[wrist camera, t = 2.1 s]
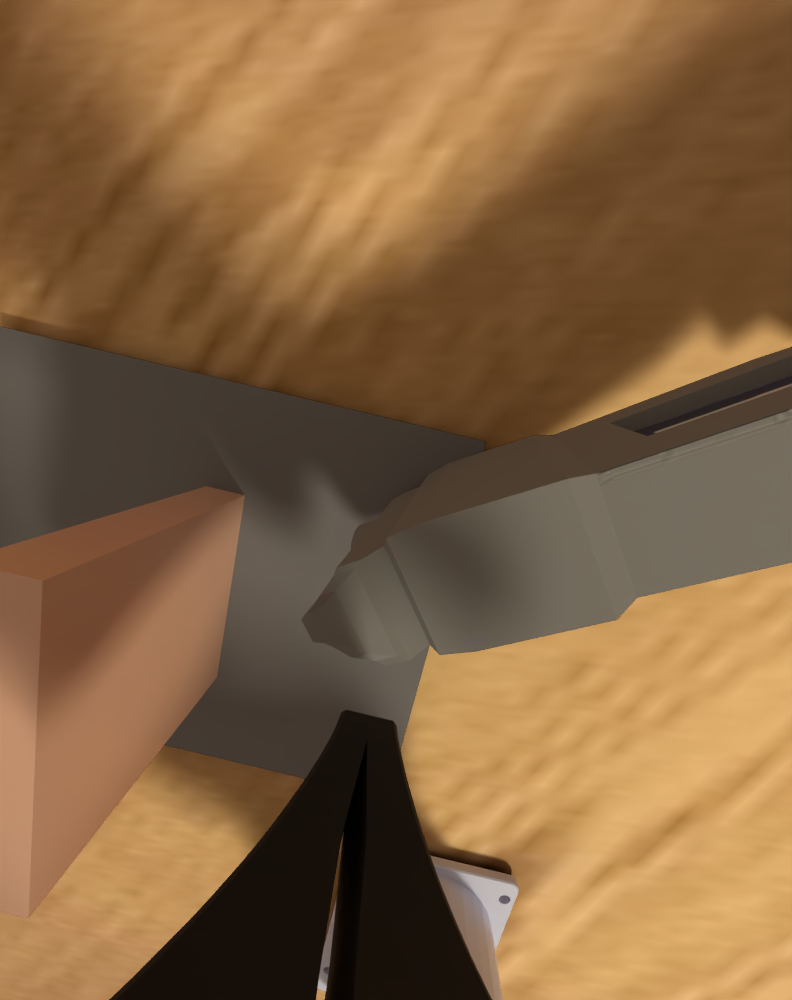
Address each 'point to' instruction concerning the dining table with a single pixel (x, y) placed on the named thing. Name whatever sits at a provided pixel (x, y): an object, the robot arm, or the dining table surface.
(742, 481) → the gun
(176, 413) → the mat
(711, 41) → the dining table surface
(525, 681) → the dining table surface
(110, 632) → the tile
